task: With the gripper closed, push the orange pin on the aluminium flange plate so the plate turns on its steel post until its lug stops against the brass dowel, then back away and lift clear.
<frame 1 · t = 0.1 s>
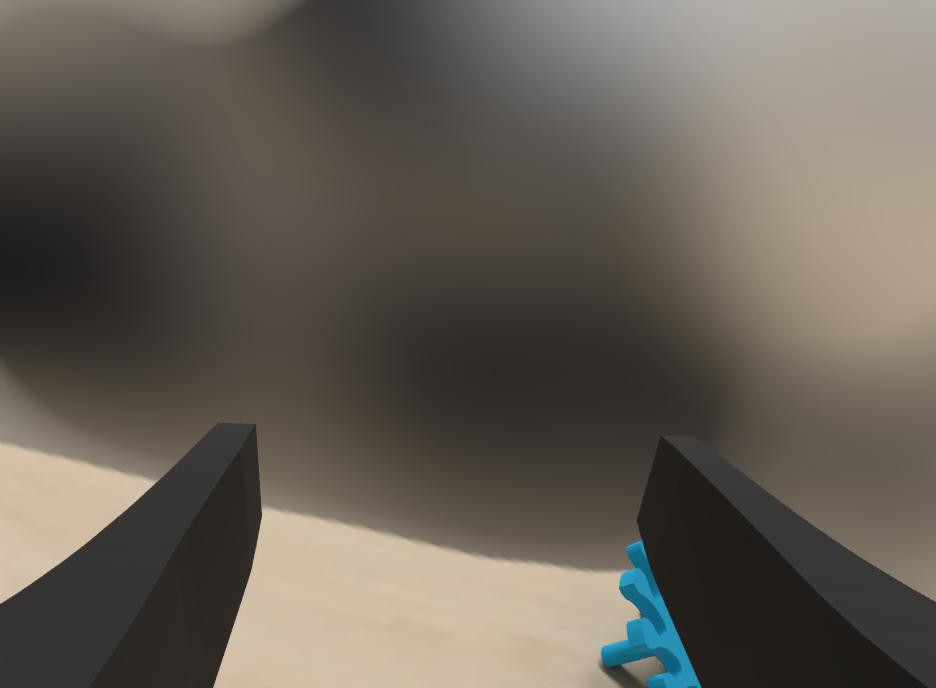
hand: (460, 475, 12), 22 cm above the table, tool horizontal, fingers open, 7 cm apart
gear: (673, 684, 34), on the table
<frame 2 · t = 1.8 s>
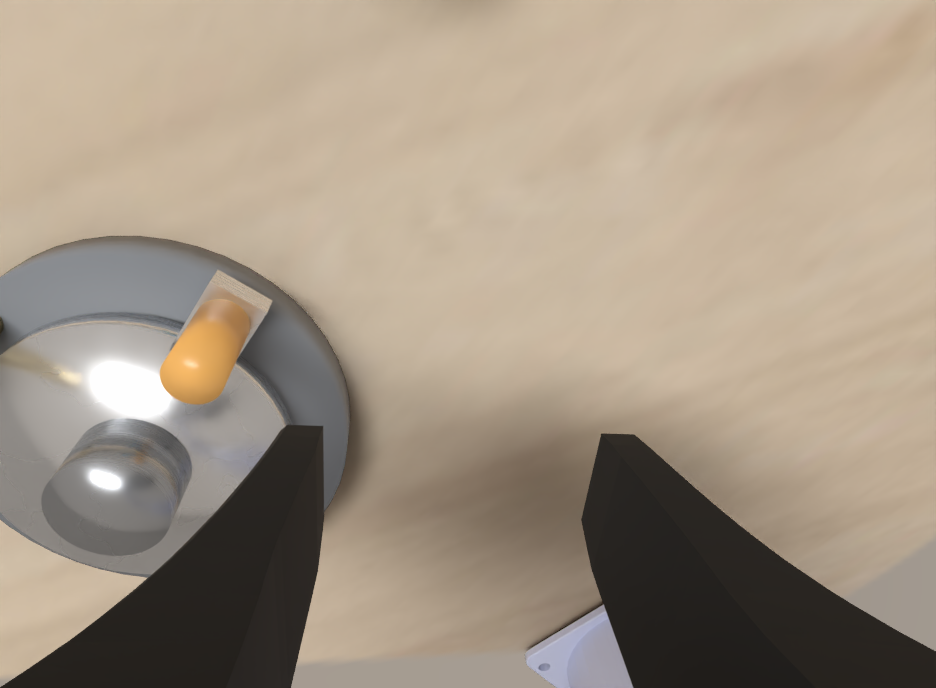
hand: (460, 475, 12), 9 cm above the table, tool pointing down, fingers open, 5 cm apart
flange: (136, 463, 18), point 4 cm above the table, hinge at 0.0°
post base: (164, 411, 21), on the table
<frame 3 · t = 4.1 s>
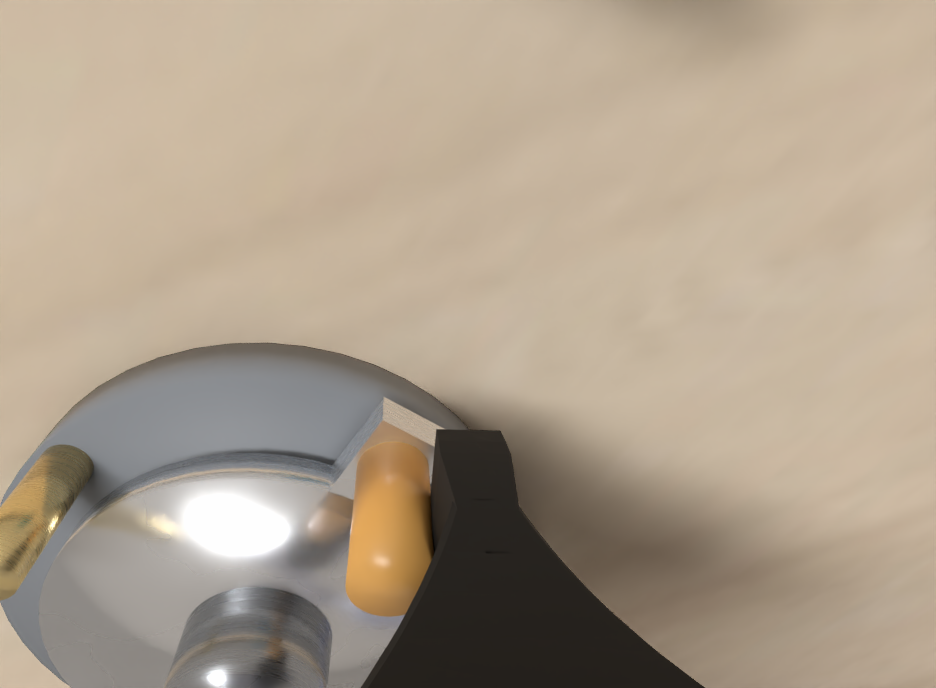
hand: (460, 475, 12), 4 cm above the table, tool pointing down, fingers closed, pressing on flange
flange: (271, 653, 13), point 4 cm above the table, hinge at 0.7°, touching gripper
post base: (279, 547, 17), on the table
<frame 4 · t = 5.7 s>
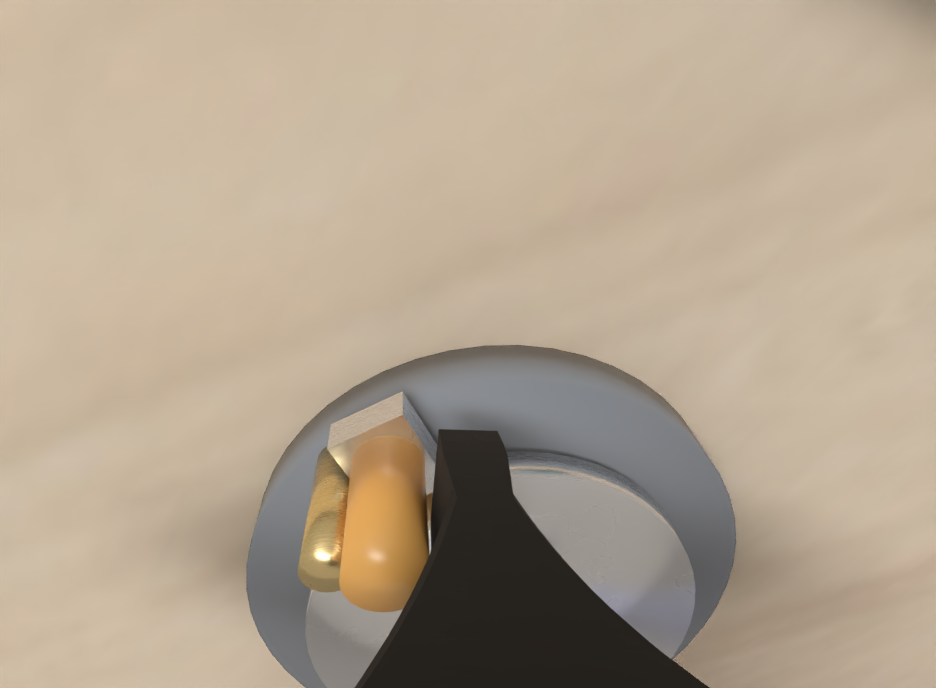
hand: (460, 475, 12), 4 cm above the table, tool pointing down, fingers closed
flange: (492, 644, 14), point 4 cm above the table, hinge at 62.1°, touching gripper, post base
post base: (490, 542, 17), on the table
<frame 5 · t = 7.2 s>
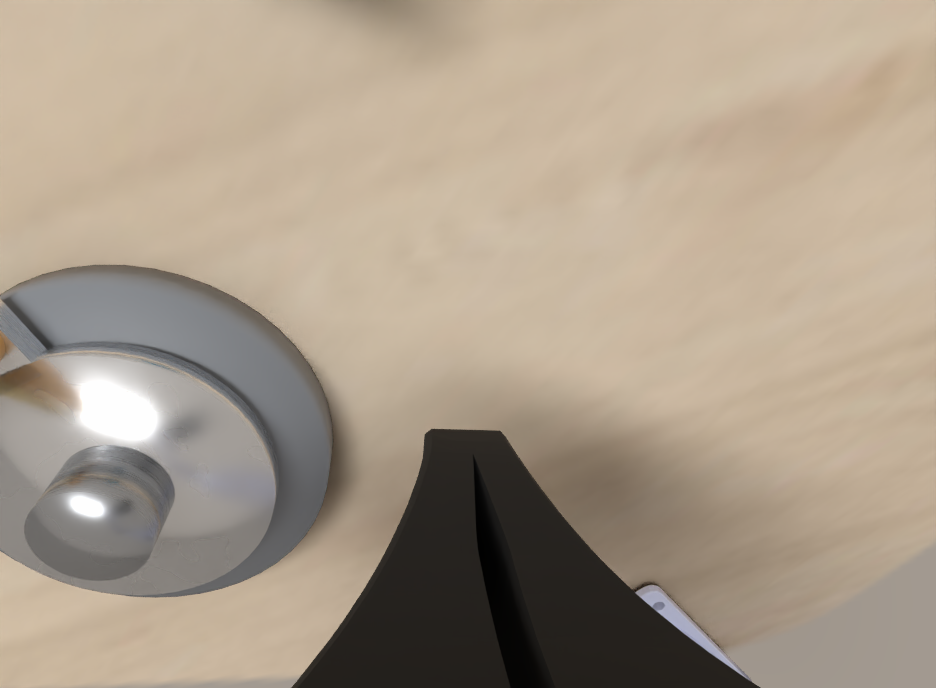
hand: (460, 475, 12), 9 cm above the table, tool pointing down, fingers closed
flange: (81, 489, 18), point 4 cm above the table, hinge at 62.0°
post base: (149, 434, 22), on the table
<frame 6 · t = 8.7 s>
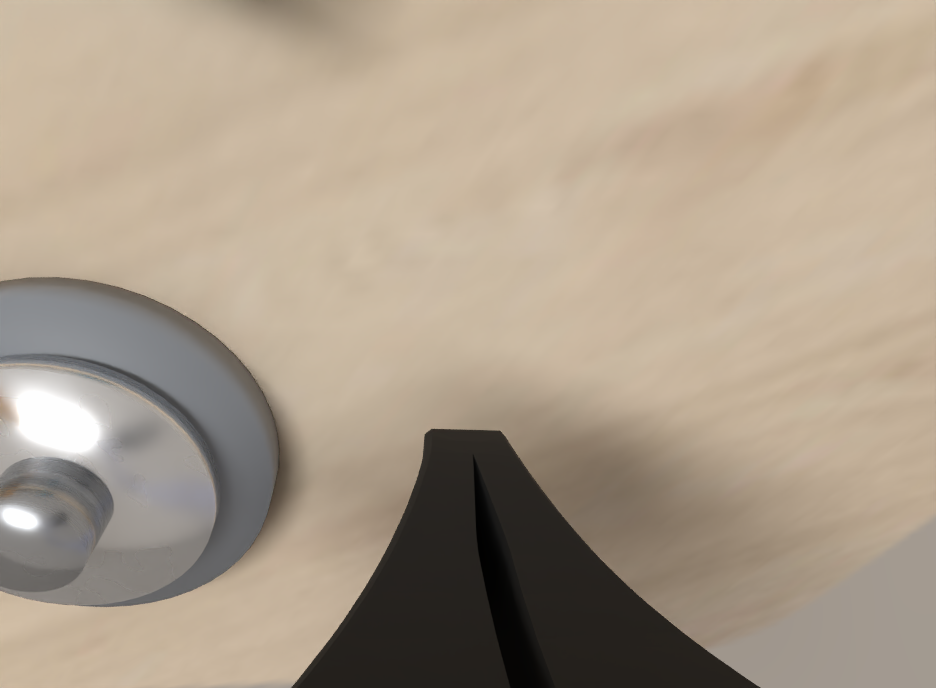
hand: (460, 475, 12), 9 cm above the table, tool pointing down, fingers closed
flange: (14, 501, 18), point 4 cm above the table, hinge at 62.0°
post base: (94, 444, 22), on the table
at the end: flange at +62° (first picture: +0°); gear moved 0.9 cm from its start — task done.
